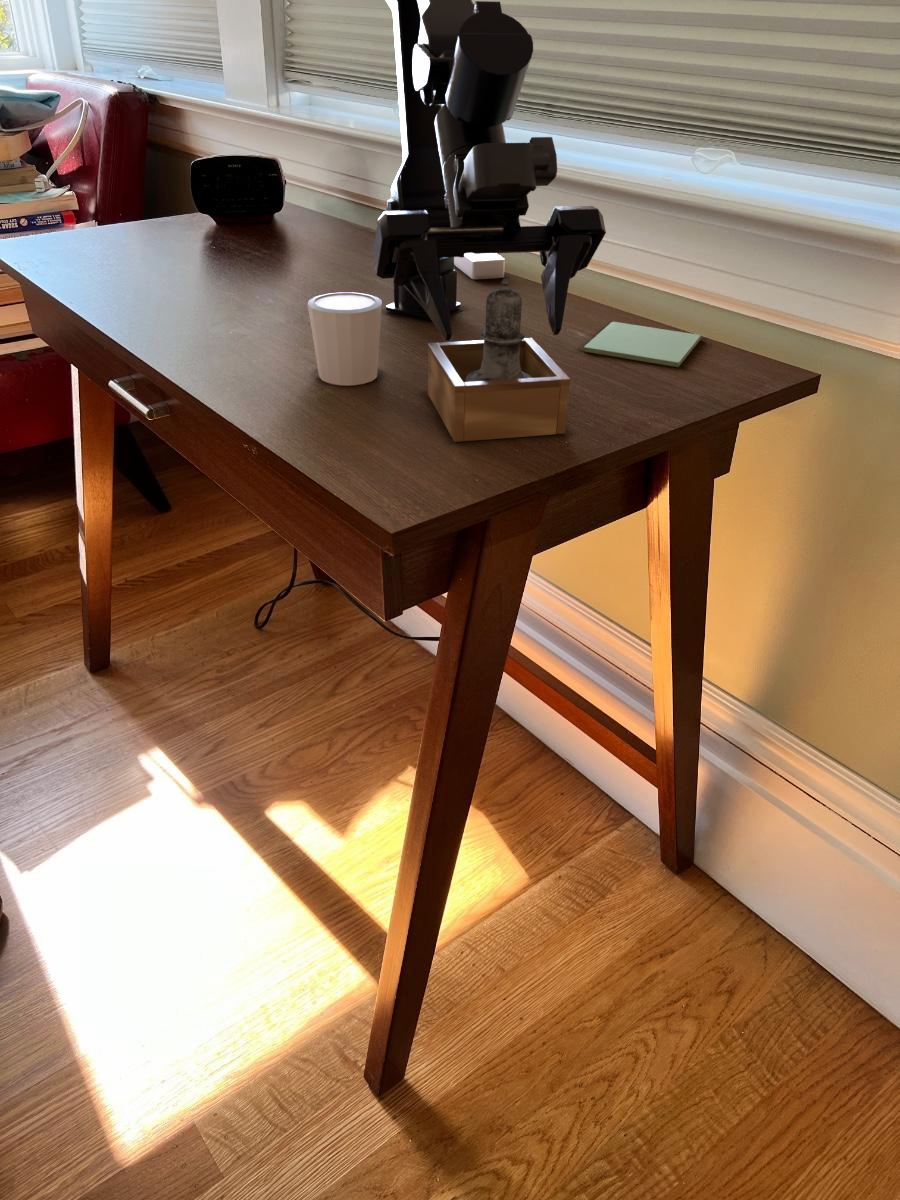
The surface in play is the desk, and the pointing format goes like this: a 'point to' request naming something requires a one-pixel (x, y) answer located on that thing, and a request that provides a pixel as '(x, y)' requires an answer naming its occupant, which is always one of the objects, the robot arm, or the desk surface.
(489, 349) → the salt shaker
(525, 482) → the desk surface
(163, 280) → the desk surface
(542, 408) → the open wooden box
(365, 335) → the white tapered cup
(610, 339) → the mat
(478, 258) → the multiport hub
